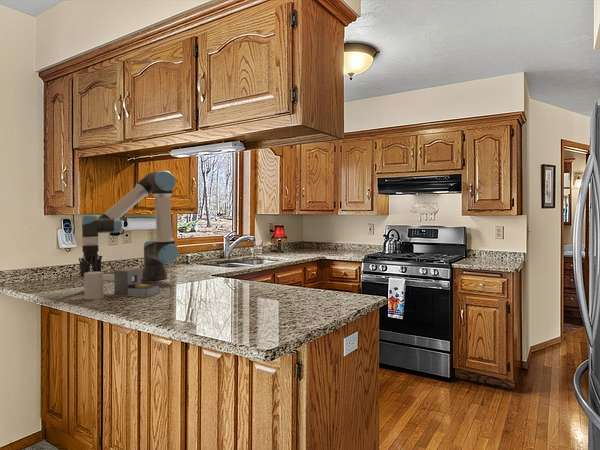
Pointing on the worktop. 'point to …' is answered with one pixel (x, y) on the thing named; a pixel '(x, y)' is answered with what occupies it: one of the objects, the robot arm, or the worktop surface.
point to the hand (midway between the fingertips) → (91, 289)
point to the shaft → (111, 276)
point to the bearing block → (126, 280)
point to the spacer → (141, 286)
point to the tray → (144, 291)
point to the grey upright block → (93, 285)
